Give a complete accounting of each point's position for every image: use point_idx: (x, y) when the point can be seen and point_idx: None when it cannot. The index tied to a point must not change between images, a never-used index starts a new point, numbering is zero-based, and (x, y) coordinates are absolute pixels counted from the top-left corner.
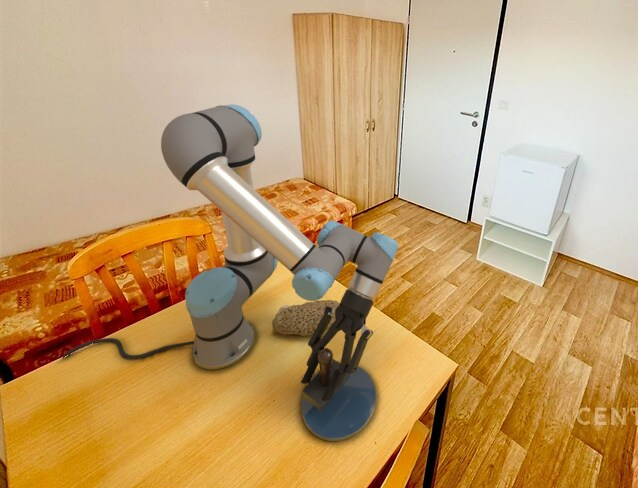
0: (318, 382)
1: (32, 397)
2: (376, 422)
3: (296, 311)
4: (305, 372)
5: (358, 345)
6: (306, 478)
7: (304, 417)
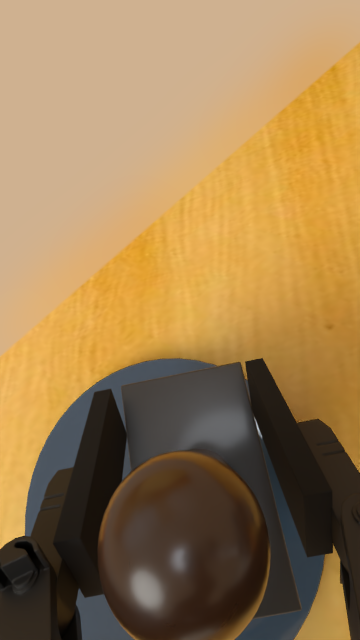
0: (220, 443)
1: None
2: None
3: None
4: (278, 390)
5: None
6: (77, 297)
7: (199, 363)
